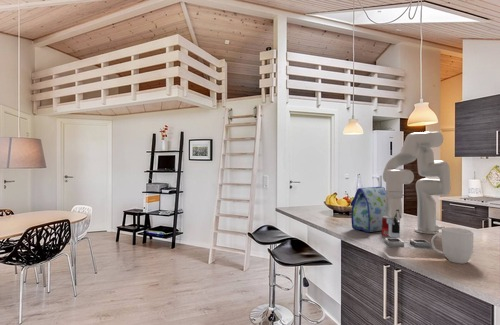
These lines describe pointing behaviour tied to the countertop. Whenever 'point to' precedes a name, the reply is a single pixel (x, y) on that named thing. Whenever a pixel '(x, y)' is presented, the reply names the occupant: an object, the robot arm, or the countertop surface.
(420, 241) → the panel
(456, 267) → the countertop surface
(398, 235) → the plug
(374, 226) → the lunch bag
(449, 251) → the mug
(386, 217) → the canned food
